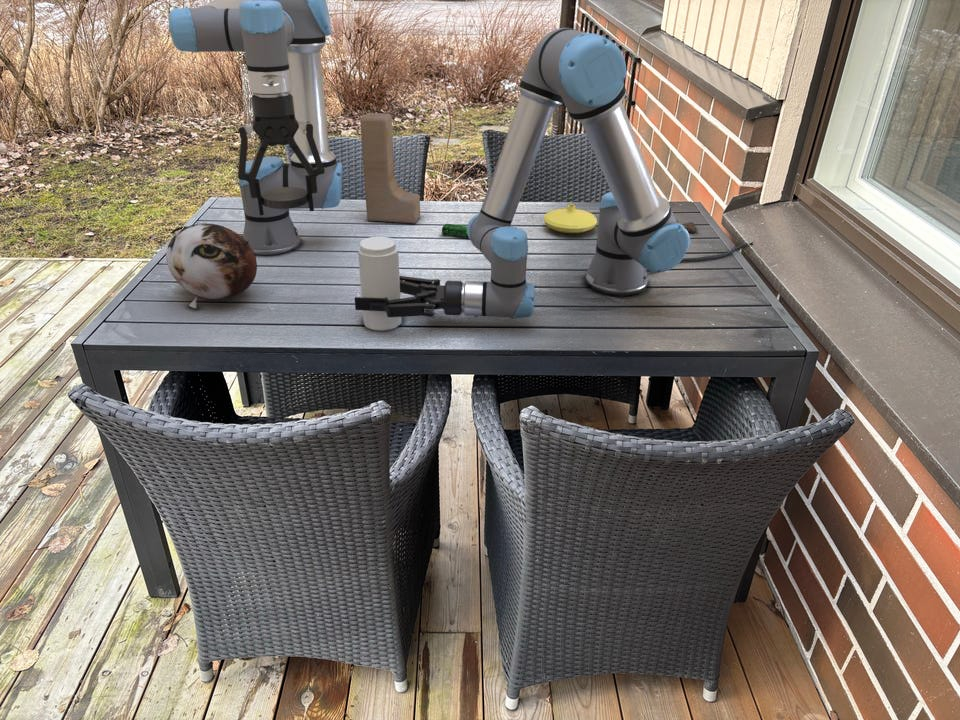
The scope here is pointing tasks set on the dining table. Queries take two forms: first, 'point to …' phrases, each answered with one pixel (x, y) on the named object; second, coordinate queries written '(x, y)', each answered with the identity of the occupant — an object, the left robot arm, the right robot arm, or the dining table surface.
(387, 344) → the dining table surface
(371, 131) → the decorative block
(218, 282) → the cat face balloon
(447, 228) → the handgun
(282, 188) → the lid
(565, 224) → the yellow knobbed pot cover
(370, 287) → the jar
